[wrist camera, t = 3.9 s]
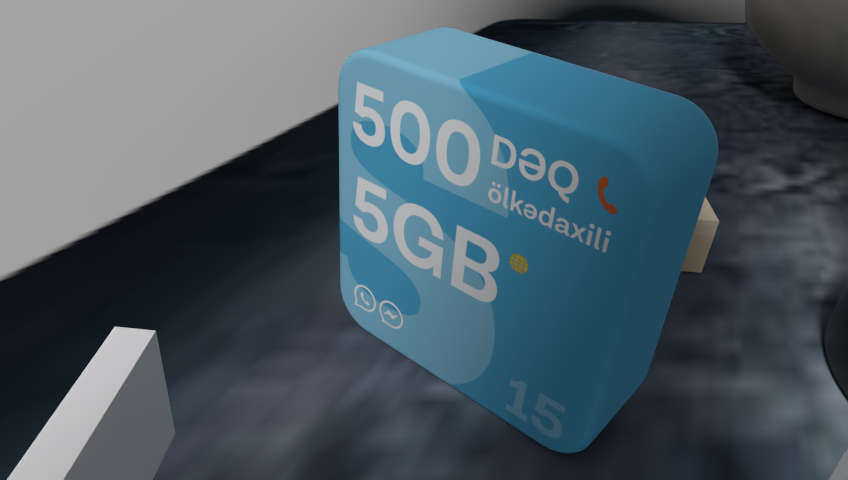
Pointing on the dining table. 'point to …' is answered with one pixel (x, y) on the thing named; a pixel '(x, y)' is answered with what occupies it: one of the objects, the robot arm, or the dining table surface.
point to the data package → (516, 222)
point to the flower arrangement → (807, 47)
